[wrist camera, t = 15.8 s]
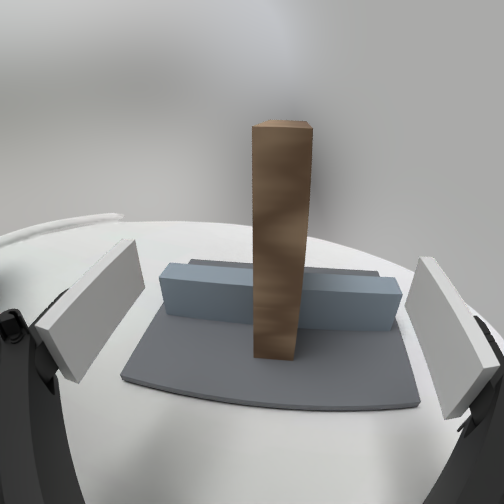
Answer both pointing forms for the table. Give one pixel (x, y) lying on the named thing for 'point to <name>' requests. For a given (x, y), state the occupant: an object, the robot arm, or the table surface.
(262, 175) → the brown notched block
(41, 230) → the table surface
